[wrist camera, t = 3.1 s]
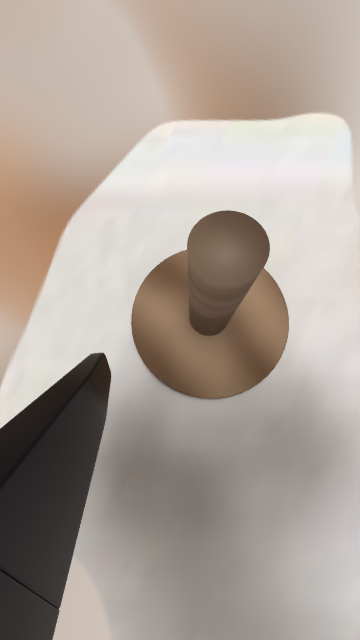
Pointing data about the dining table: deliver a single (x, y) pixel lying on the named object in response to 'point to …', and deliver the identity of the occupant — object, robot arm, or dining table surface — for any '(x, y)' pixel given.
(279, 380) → the dining table surface
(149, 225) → the dining table surface
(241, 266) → the lid
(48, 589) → the robot arm
